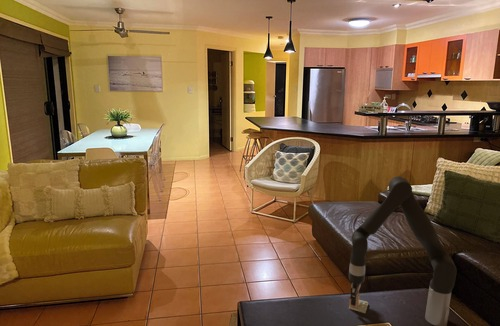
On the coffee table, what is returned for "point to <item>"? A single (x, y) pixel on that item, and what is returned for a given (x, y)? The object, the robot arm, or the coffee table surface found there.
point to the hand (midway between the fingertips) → (354, 300)
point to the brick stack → (356, 301)
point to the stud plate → (360, 306)
